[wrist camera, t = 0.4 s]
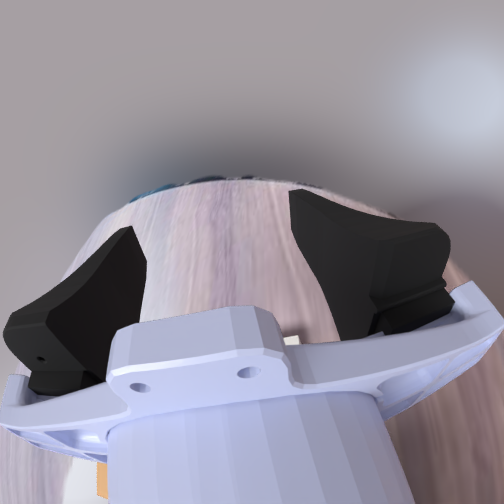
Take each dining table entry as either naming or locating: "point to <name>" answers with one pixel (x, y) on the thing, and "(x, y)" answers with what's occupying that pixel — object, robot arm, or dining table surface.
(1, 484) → the dining table surface
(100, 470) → the peg
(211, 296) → the dining table surface
